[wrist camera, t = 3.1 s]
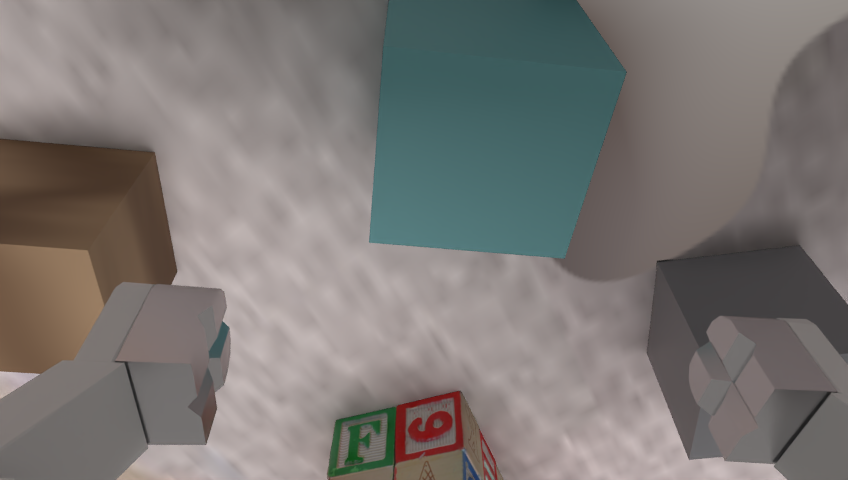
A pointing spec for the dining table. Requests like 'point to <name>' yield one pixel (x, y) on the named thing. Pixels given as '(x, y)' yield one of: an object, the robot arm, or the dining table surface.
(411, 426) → the stack of blocks
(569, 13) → the teal cube
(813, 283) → the charcoal cube
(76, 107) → the dining table surface
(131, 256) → the walnut cube
